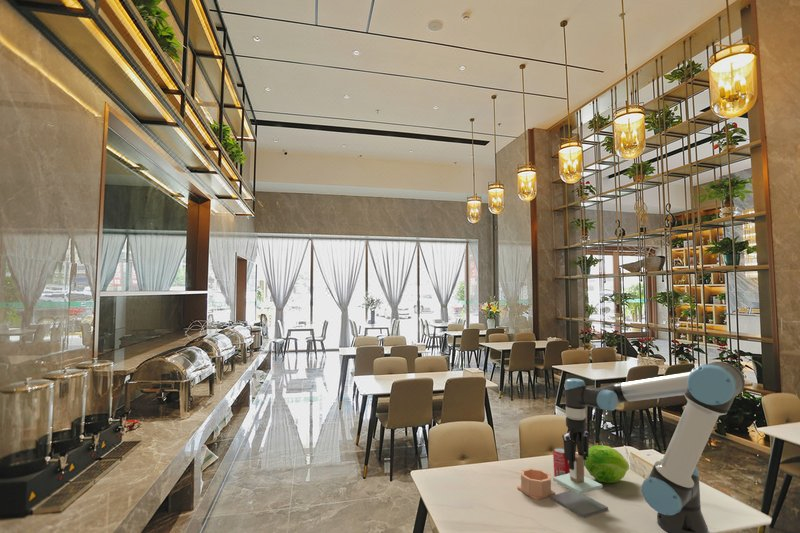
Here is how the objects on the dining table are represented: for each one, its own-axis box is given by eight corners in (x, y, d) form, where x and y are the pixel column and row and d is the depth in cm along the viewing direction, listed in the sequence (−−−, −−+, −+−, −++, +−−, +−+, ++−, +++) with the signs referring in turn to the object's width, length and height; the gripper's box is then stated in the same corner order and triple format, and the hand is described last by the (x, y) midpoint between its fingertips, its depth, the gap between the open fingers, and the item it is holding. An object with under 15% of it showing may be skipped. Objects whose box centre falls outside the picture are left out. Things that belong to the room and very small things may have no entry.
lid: (602, 487, 156) (601, 458, 157) (579, 494, 151) (578, 464, 152) (575, 474, 168) (574, 447, 169) (553, 480, 163) (552, 452, 164)
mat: (607, 509, 155) (607, 506, 155) (583, 517, 149) (583, 515, 149) (574, 491, 169) (574, 489, 169) (550, 498, 163) (550, 496, 163)
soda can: (572, 483, 177) (571, 453, 178) (555, 481, 178) (554, 452, 179) (568, 476, 184) (567, 447, 185) (552, 475, 185) (551, 446, 186)
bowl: (557, 495, 166) (556, 477, 167) (535, 501, 161) (535, 483, 161) (536, 483, 177) (535, 467, 177) (515, 488, 172) (515, 471, 172)
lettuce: (638, 493, 173) (642, 459, 172) (594, 489, 172) (598, 455, 171) (615, 472, 189) (619, 441, 189) (575, 468, 188) (578, 437, 188)
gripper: (582, 412, 169) (583, 469, 167) (553, 417, 162) (555, 476, 160) (597, 417, 162) (599, 476, 160) (568, 422, 155) (570, 484, 153)
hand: (577, 476), depth 160 cm, fingers closed on lid, 4 cm apart
